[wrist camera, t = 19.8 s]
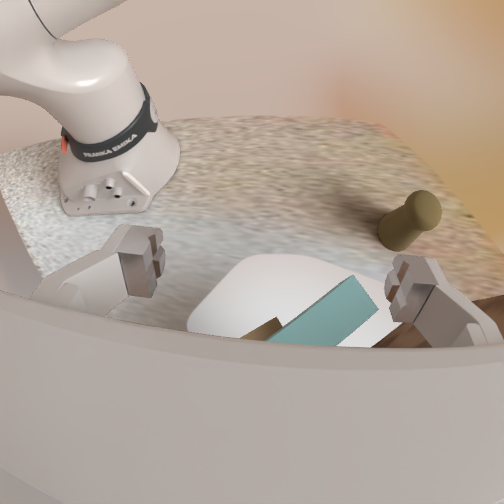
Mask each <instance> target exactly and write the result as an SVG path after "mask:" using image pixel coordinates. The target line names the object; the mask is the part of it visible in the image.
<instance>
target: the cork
mask: <svg viewBox="0 0 504 504" xmlns="http://www.w3.org/2000/svg"><path fill="white" fill-rule="evenodd" d="M441 214H442V210H441V205H440V203H439V201H438V199H437V198H436V197H435V196H434V195H433V194H432V193H430V192H428V191H423V190H419V191H416V192H413V193H412V194H411V195H410V196H409V197H408V198H407V200H406V202H405V204H404V205H403V206H401V207H399V208H397V209H395V210H394V211H392V212H390V213H388V214H386V215H385V216H384V217H382V218H381V220H380V221H379V223H378V228H377V229H378V236H379V238H380V241H381V242H382V243H383V245H384V246H385V247H387V248H388V249H389V250H392V251H402V250H405V249H406V248H407V247H408V246H409V245H410V244H411V243H412V242H413V241H414V240H415V239H416V238H417V237H418V236H419V235H420V234H421V233H422V232H423V231H429V230H432V229H433V228H435V227H436V226H437V225H438V223H439V222H440V219H441Z"/></svg>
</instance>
